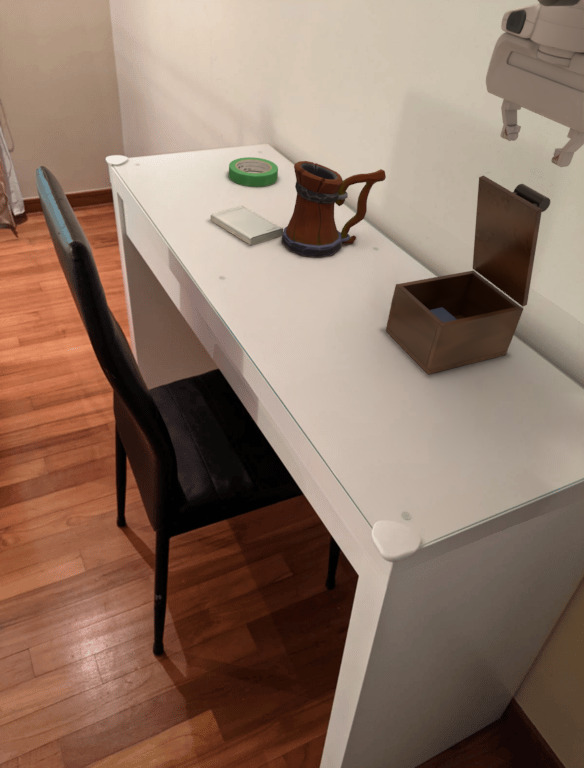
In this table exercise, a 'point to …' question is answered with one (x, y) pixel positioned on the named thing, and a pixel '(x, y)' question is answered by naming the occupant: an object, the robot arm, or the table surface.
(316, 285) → the table surface
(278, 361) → the table surface
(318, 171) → the mug
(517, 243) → the lid
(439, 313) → the block
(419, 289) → the chest
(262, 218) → the hard drive
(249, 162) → the tape roll
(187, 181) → the table surface
